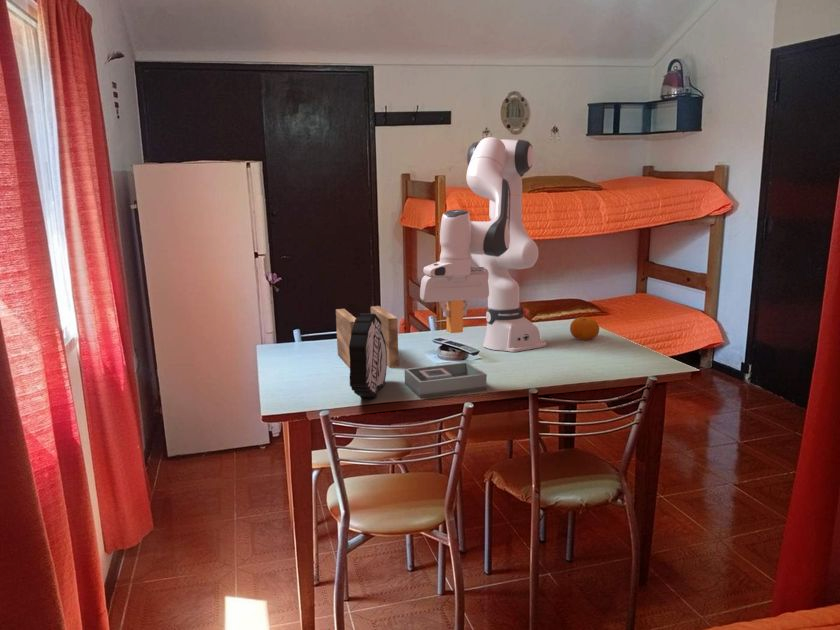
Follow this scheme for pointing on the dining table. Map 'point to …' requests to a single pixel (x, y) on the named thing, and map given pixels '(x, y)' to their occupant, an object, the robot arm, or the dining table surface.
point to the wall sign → (367, 356)
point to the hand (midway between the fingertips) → (454, 316)
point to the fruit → (584, 328)
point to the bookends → (387, 327)
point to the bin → (447, 380)
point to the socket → (434, 374)
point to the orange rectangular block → (455, 316)
